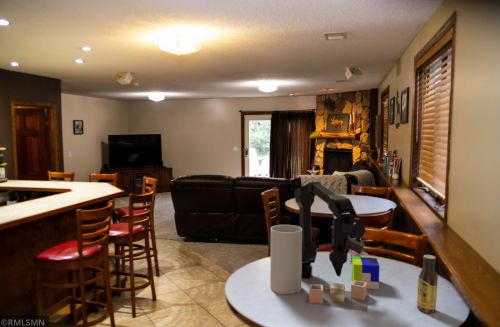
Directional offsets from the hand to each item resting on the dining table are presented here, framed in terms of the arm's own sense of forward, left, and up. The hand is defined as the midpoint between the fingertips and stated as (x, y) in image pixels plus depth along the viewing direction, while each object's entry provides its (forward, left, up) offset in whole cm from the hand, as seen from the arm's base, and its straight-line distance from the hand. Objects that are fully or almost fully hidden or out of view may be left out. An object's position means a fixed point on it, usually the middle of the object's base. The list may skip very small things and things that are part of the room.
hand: (339, 271), depth 144 cm
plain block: (-1, -1, -10) cm, 10 cm away
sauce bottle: (+30, +1, -11) cm, 32 cm away
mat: (-1, 0, -11) cm, 11 cm away
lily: (+2, +46, -11) cm, 47 cm away
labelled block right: (+7, +4, -10) cm, 13 cm away
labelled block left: (-8, -5, -10) cm, 14 cm away
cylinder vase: (-22, +2, -11) cm, 24 cm away
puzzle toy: (+8, +18, -11) cm, 23 cm away
